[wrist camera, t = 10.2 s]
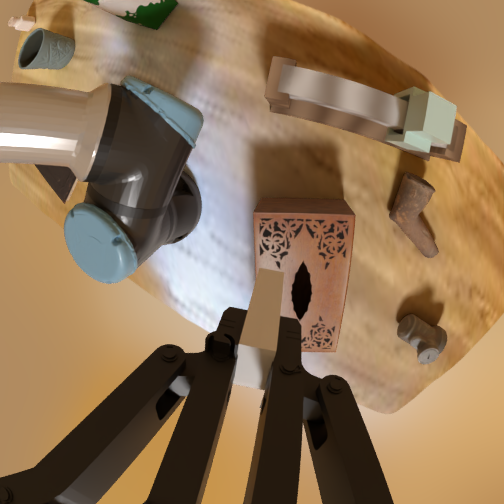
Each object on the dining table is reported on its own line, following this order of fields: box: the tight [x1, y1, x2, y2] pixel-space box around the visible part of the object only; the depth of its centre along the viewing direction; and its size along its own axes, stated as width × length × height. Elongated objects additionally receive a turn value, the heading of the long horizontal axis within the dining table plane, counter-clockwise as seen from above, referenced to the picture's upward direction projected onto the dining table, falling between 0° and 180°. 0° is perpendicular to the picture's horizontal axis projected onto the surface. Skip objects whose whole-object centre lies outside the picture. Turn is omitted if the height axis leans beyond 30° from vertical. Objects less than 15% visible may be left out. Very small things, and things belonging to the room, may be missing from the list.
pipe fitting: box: [397, 314, 447, 364], centre depth 48 cm, size 12×8×10 cm, turn 62°
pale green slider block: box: [385, 86, 457, 153], centre depth 27 cm, size 4×8×13 cm, turn 169°
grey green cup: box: [18, 28, 75, 69], centre depth 32 cm, size 10×10×12 cm
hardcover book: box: [35, 164, 78, 204], centre depth 48 cm, size 16×23×2 cm
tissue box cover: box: [253, 198, 355, 352], centre depth 46 cm, size 26×14×10 cm, turn 2°
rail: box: [264, 56, 467, 163], centre depth 33 cm, size 29×8×11 cm, turn 79°
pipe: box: [389, 172, 439, 258], centre depth 41 cm, size 6×17×10 cm
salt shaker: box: [8, 15, 35, 31], centre depth 28 cm, size 4×4×10 cm
